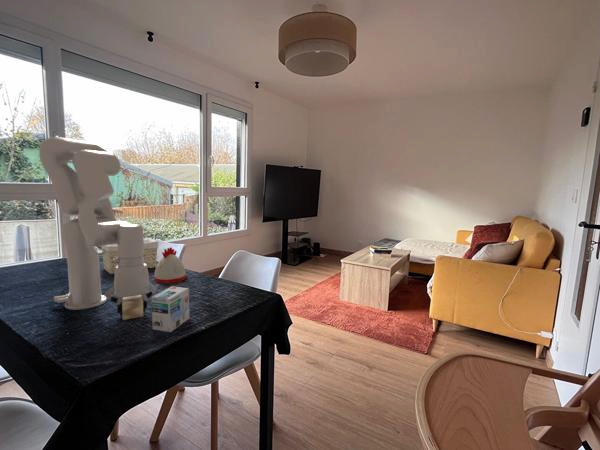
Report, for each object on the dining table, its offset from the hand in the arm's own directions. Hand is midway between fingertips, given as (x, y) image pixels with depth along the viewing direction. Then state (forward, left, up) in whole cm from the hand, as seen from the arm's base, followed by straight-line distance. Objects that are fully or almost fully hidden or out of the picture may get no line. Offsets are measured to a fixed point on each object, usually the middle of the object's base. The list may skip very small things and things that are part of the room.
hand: (132, 312), depth 102 cm
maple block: (0, 0, -1) cm, 1 cm away
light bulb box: (+10, -12, -2) cm, 16 cm away
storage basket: (+4, +64, -2) cm, 64 cm away
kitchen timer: (+18, +38, -2) cm, 42 cm away
